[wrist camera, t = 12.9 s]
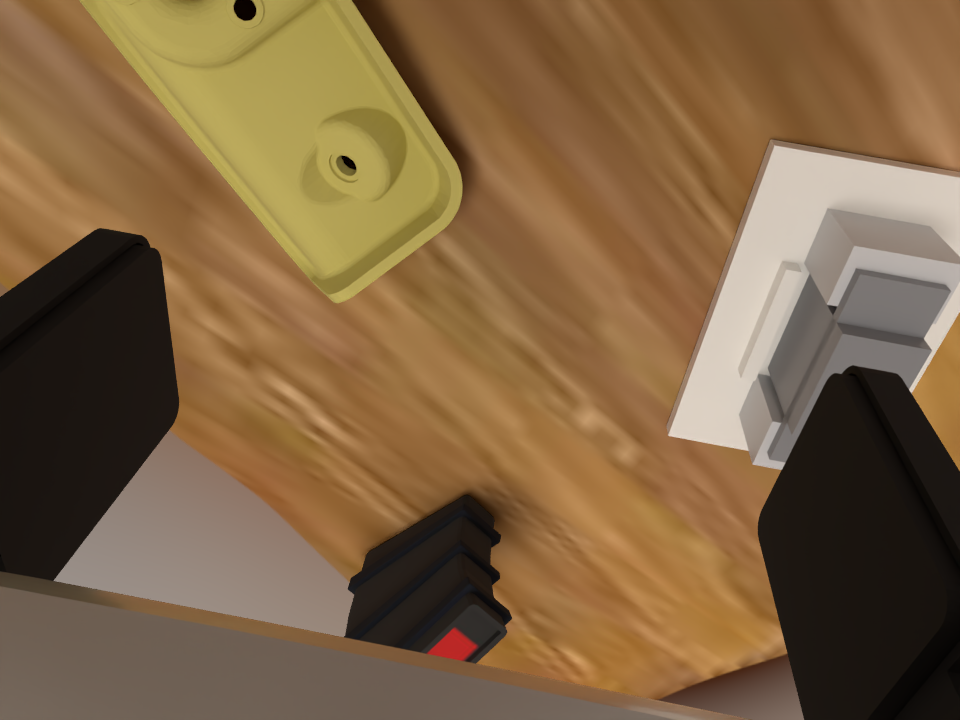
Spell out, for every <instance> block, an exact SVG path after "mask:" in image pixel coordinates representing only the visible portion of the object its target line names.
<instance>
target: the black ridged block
mask: <svg viewBox="0 0 960 720" xmlns="http://www.w3.org/2000/svg"><path fill="white" fill-rule="evenodd" d="M494 522H495V521H494V518H493V516H492V515H490V514H489V513H488V512H487V511H486V510H485V509H484V508H483V507H481V506H480V505H479V504H478V503H477V502H476V501H475V500H474V499H473V498H471V497H470V496H468V495H465V496H463V497H462V498H460V499H458V500H456V501H455V502H453V503H451V504H450V505H448V506H446V507H445V508H443V509H441V510H439V511H438V512H436V513H434V514H433V515H431V516H429V517H428V518H426V519H424V520H422V521H421V522H419V523H417V524H416V525H414V526H412V527H411V528H409V529H407V530H406V531H404V532H402V533H400V534H399V535H397V536H395V537H394V538H392V539H390V540H389V541H387V542H385V543H383V544H382V545H380V546H378V547H377V548H375V549H373V550H372V551H370V552H368V553H367V555H366V558H365V561H364V564H363V568H362V571H361V572H359V573H358V574H356V575H355V576H353V577H352V578H351V580H350V583H349V587H348V590H349V591H351V592H352V593H353V594H354V598H353V602H352V606H351V609H350V613H349V617H348V624H347V629H346V635H345V636H344V638H349V639H354V640H359V641H364V642H369V643H375V644H380V645H385V646H390V647H395V648H400V649H405V650H410V651H415V652H420V653H425V654H430V655H435V656H440V657H445V658H450V659H455V660H460V661H465V662H470V663H475V664H476V663H477V662H478V661H479V660H480V659H481V658H482V657H483V656H484V655H486V654H487V653H488V652H489V651H490V650H491V649H492V648H493V647H494V646H495V645H496V644H497V643H498V642H499V641H500V640H501V639H502V638H504V637H505V635H506V633H507V630H506V627H505V625H506V624H507V623H508V622H509V621H510V620H511V619H512V617H511V614H510V612H509V610H508V609H506V608H505V607H504V606H503V605H502V604H500V603H499V602H498V601H497V600H496V599H495V598H494V596H493V589H492V585H493V584H494V583H495V582H497V581H498V580H499V579H500V573H499V572H498V571H497V570H496V569H495V568H494V567H492V566H491V565H490V555H491V548H492V547H493V546H495V545H496V544H498V543H499V542H500V539H501V535H500V534H499V533H498V532H497V531H496V530H495V529H493V528H494Z"/></svg>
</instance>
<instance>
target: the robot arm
mask: <svg viewBox="0 0 960 720" xmlns="http://www.w3.org/2000/svg"><path fill="white" fill-rule="evenodd" d="M178 409H179V396H178V388H177V380H176V372H175V364H174V356H173V348H172V340H171V332H170V324H169V316H168V308H167V300H166V292H165V284H164V276H163V268H162V261H161V256H160V254H159V252H158V250H156V249H155V248H150V244H149V243H148V241H147V239H146V238H145V237H143V236H142V235H136V234H131V233H125V232H120V231H114V230H109V229H102V228H99V229H97V230H94V231H93V232H91V233H90V234H89V235H87V236H86V237H84V238H83V239H82V240H80V241H79V242H77V243H76V244H75V245H73V246H72V247H70V248H69V249H67V250H66V251H65V252H63V253H62V254H60V255H59V256H58V257H56V258H55V259H53V260H52V261H51V262H49V263H48V264H46V265H45V266H43V267H42V268H41V269H39V270H38V271H36V272H35V273H34V274H32V275H31V276H29V277H28V278H26V279H25V280H24V281H22V282H21V283H19V284H18V285H17V286H15V287H14V288H12V289H11V290H10V291H8V292H7V293H5V294H4V295H3V296H1V297H0V720H751V719H746V718H741V717H736V716H731V715H726V714H721V713H716V712H712V711H707V710H702V709H697V708H692V707H687V706H682V705H677V704H672V703H668V702H662V701H658V700H653V699H648V698H643V697H638V696H633V695H628V694H624V693H619V692H614V691H609V690H604V689H599V688H594V687H589V686H584V685H579V684H575V683H570V682H565V681H560V680H555V679H550V678H545V677H540V676H535V675H530V674H525V673H520V672H515V671H510V670H505V669H500V668H495V667H490V666H485V665H480V664H475V663H470V662H465V661H460V660H455V659H450V658H445V657H440V656H435V655H430V654H425V653H420V652H415V651H410V650H405V649H400V648H395V647H390V646H385V645H380V644H375V643H369V642H364V641H359V640H354V639H349V638H344V637H339V636H334V635H329V634H324V633H319V632H313V631H309V630H304V629H299V628H293V627H288V626H283V625H278V624H273V623H268V622H263V621H258V620H253V619H248V618H242V617H237V616H232V615H226V614H221V613H216V612H211V611H206V610H201V609H195V608H191V607H185V606H180V605H175V604H170V603H165V602H159V601H154V600H149V599H143V598H139V597H134V596H128V595H123V594H118V593H113V592H107V591H102V590H97V589H92V588H87V587H81V586H76V585H71V584H66V583H61V582H55V581H53V580H54V579H55V578H56V576H57V575H58V574H59V573H60V571H61V570H62V569H63V567H64V566H65V565H66V564H67V562H68V561H69V560H70V558H71V557H72V556H73V554H74V553H75V552H76V550H77V549H78V548H79V547H80V545H81V544H82V543H83V541H84V540H85V539H86V537H87V536H88V535H89V534H90V532H91V531H92V530H93V528H94V527H95V526H96V524H97V523H98V522H99V520H100V519H101V518H102V516H103V515H104V514H105V513H106V511H107V510H108V509H109V507H110V506H111V505H112V504H113V502H114V501H115V500H116V498H117V497H118V496H119V494H120V493H121V492H122V491H123V489H124V488H125V487H126V485H127V484H128V483H129V481H130V480H131V479H132V477H133V476H134V475H135V473H136V472H137V471H138V470H139V468H140V467H141V466H142V464H143V463H144V462H145V461H146V459H147V458H148V457H149V455H150V454H151V453H152V451H153V450H154V449H155V447H156V446H157V445H158V444H159V442H160V441H161V440H162V438H163V437H164V436H165V434H166V433H167V432H168V431H169V429H170V428H171V427H172V425H173V423H174V422H175V419H176V417H177V413H178ZM758 537H759V542H760V546H761V550H762V554H763V558H764V561H765V565H766V569H767V573H768V577H769V581H770V585H771V589H772V593H773V597H774V601H775V605H776V609H777V613H778V617H779V621H780V625H781V629H782V633H783V637H784V641H785V645H786V649H787V653H788V657H789V661H790V665H791V668H792V672H793V676H794V681H795V684H796V688H797V692H798V696H799V700H800V704H801V708H802V712H803V716H804V720H960V471H959V470H958V468H957V466H956V465H955V463H954V462H953V460H952V458H951V457H950V455H949V453H948V452H947V450H946V449H945V447H944V445H943V444H942V442H941V441H940V439H939V437H938V436H937V434H936V432H935V431H934V429H933V428H932V426H931V424H930V423H929V421H928V420H927V418H926V416H925V415H924V413H923V411H922V410H921V408H920V407H919V405H918V403H917V402H916V400H915V399H914V397H913V395H912V394H911V392H910V390H909V389H908V387H907V386H906V384H905V382H904V381H903V379H902V378H901V377H900V376H899V375H898V374H896V373H893V372H887V371H882V370H876V369H871V368H865V367H860V366H854V365H852V366H850V367H848V368H847V369H846V370H844V371H843V373H842V374H839V373H834V374H832V375H831V376H830V377H829V378H828V379H827V381H826V383H825V385H824V387H823V389H822V391H821V393H820V395H819V397H818V399H817V401H816V403H815V405H814V407H813V409H812V411H811V413H810V415H809V417H808V419H807V421H806V423H805V425H804V427H803V429H802V431H801V433H800V435H799V437H798V439H797V441H796V443H795V445H794V447H793V449H792V451H791V453H790V455H789V457H788V459H787V461H786V463H785V465H784V467H783V469H782V471H781V473H780V475H779V477H778V479H777V481H776V483H775V485H774V487H773V489H772V491H771V493H770V495H769V497H768V499H767V501H766V503H765V505H764V507H763V509H762V511H761V513H760V517H759V521H758Z"/></svg>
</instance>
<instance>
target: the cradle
mask: <svg viewBox="0 0 960 720" xmlns="http://www.w3.org/2000/svg"><path fill="white" fill-rule="evenodd" d="M856 268H857V269H863V270H868V271H873V272H879V273H884V274H890V275H895V276H901V277H906V278H911V279H917V280H922V281H928V282H933V283H939V284H944V285H946V286H947V287H948V288H949V289H950V290H951V292H950V294H949V296H948V298H947V299H946V301H945V303H944V305H943V306H942V308H941V310H940V312H939V313H938V315H937V317H936V318H935V320H934V322H933V324H932V325H931V327H930V329H929V331H928V332H927V334H926V336H925V337H924V340H925V341H926V343H927V344H928V345H929V347H930V348H931V349H932V352H931V353H930V355H929V357H928V358H927V360H926V362H925V363H924V365H923V367H922V369H921V370H920V372H919V374H918V375H917V377H916V379H915V380H914V382H913V384H912V385H911V387H910V389H909V390H910V392H911V394H912V392H913V390H914V388H915V387H916V385H917V383H918V382H919V380H920V378H921V377H922V375H923V373H924V371H925V370H926V368H927V366H928V365H929V363H930V361H931V360H932V358H933V356H934V355H935V353H936V351H937V349H938V348H939V346H940V344H941V343H942V341H943V339H944V338H945V336H946V334H947V332H948V331H949V329H950V327H951V326H952V324H953V322H954V321H955V319H956V317H957V315H958V314H959V312H960V172H956V171H951V170H945V169H939V168H933V167H928V166H922V165H916V164H910V163H905V162H899V161H893V160H887V159H882V158H876V157H870V156H864V155H858V154H853V153H847V152H841V151H835V150H830V149H824V148H818V147H812V146H807V145H801V144H795V143H789V142H784V141H778V140H772V139H770V142H769V144H768V147H767V150H766V153H765V155H764V158H763V161H762V164H761V166H760V169H759V172H758V175H757V177H756V180H755V183H754V186H753V189H752V191H751V194H750V197H749V200H748V202H747V205H746V208H745V211H744V213H743V216H742V219H741V222H740V224H739V227H738V230H737V233H736V235H735V238H734V241H733V244H732V247H731V249H730V252H729V255H728V258H727V260H726V263H725V266H724V269H723V271H722V274H721V277H720V280H719V282H718V285H717V288H716V291H715V293H714V296H713V299H712V302H711V305H710V307H709V310H708V313H707V316H706V318H705V321H704V324H703V327H702V329H701V332H700V335H699V338H698V340H697V343H696V346H695V349H694V352H693V354H692V357H691V360H690V363H689V365H688V368H687V371H686V374H685V376H684V379H683V382H682V385H681V387H680V390H679V393H678V396H677V398H676V401H675V404H674V407H673V410H672V412H671V415H670V418H669V421H668V423H667V431H668V436H672V437H677V438H683V439H688V440H693V441H699V442H704V443H709V444H715V445H720V446H726V447H731V448H736V449H742V450H747V451H749V453H750V457H751V461H752V464H753V465H759V466H764V467H769V468H775V469H780V470H782V469H783V467H784V465H785V462H780V461H774V460H769V457H768V453H767V451H768V449H769V447H770V445H771V443H772V441H773V439H774V437H775V435H776V433H777V431H778V429H779V426H780V424H781V422H782V420H783V418H784V416H785V415H784V412H783V410H782V407H781V404H780V401H779V398H778V396H777V393H776V390H775V387H774V384H773V382H772V379H771V376H770V373H769V370H768V366H769V364H770V361H771V359H772V357H773V355H774V352H775V350H776V348H777V346H778V343H779V341H780V339H781V337H782V334H783V332H784V330H785V328H786V325H787V323H788V321H789V319H790V316H791V314H792V312H793V310H794V307H795V305H796V303H797V301H798V298H799V296H800V294H801V292H802V289H803V287H804V285H805V283H806V281H807V278H808V276H809V274H810V275H811V277H812V278H813V280H814V282H815V284H816V286H817V288H818V289H819V291H820V293H821V295H822V297H823V298H824V300H825V302H826V304H827V305H832V306H837V307H838V305H839V302H840V300H841V298H842V296H843V294H844V292H845V290H846V288H847V286H848V284H849V282H850V280H851V278H852V276H853V274H854V272H855V269H856Z"/></svg>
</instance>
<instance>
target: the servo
mask: <svg viewBox="0 0 960 720" xmlns="http://www.w3.org/2000/svg"><path fill="white" fill-rule="evenodd" d="M950 292H951V290H950V289H949V288H948V287H947V286H946V285H944V284H939V283H933V282H928V281H922V280H917V279H911V278H906V277H901V276H895V275H890V274H884V273H879V272H873V271H868V270H863V269H857V268H856V269H855V272H854V274H853V276H852V278H851V280H850V282H849V284H848V286H847V288H846V290H845V292H844V294H843V296H842V298H841V300H840V302H839V305H838V307H837V306H832V305H827V304H826V302H825V300H824V298H823V297H822V295H821V293H820V291H819V289H818V288H817V286H816V284H815V282H814V280H813V278H812V277H811V275H810V274H809V276H808V278H807V281H806V283H805V285H804V287H803V289H802V292H801V294H800V296H799V298H798V301H797V303H796V305H795V307H794V310H793V312H792V314H791V316H790V319H789V321H788V323H787V325H786V328H785V330H784V332H783V334H782V337H781V339H780V341H779V343H778V346H777V348H776V350H775V352H774V355H773V357H772V359H771V361H770V364H769V366H768V370H769V373H770V376H771V379H772V382H773V384H774V387H775V390H776V393H777V396H778V398H779V401H780V404H781V407H782V410H783V412H784V415H785V416H784V418H783V420H782V422H781V424H780V426H779V429H778V431H777V433H776V435H775V437H774V439H773V441H772V443H771V445H770V447H769V449H768V451H767V453H768V457H769V460H774V461H780V462H785V463H786V461H787V459H788V457H789V455H790V453H791V451H792V449H793V447H794V445H795V443H796V441H797V439H798V437H799V435H800V433H801V431H802V429H803V427H804V425H805V423H806V421H807V419H808V417H809V415H810V413H811V411H812V409H813V407H814V405H815V403H816V401H817V399H818V397H819V395H820V393H821V391H822V389H823V387H824V385H825V383H826V381H827V379H828V378H829V377H830V376H831V375H832V374H834V373H839V374H842V373H843V371H844V370H846V369H847V368H848V367H850V366H852V365H854V366H860V367H865V368H871V369H876V370H882V371H887V372H893V373H896V374H898V375H899V376H900V377H901V378H902V379H903V381H904V382H905V384H906V386H907V387H908V389H910V387H911V385H912V384H913V382H914V380H915V379H916V377H917V375H918V374H919V372H920V370H921V369H922V367H923V365H924V363H925V362H926V360H927V358H928V357H929V355H930V353H931V352H932V349H931V348H930V347H929V345H928V344H927V343H926V341H925V340H924V337H925V336H926V334H927V332H928V331H929V329H930V327H931V325H932V324H933V322H934V320H935V318H936V317H937V315H938V313H939V312H940V310H941V308H942V306H943V305H944V303H945V301H946V299H947V298H948V296H949V294H950Z"/></svg>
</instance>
